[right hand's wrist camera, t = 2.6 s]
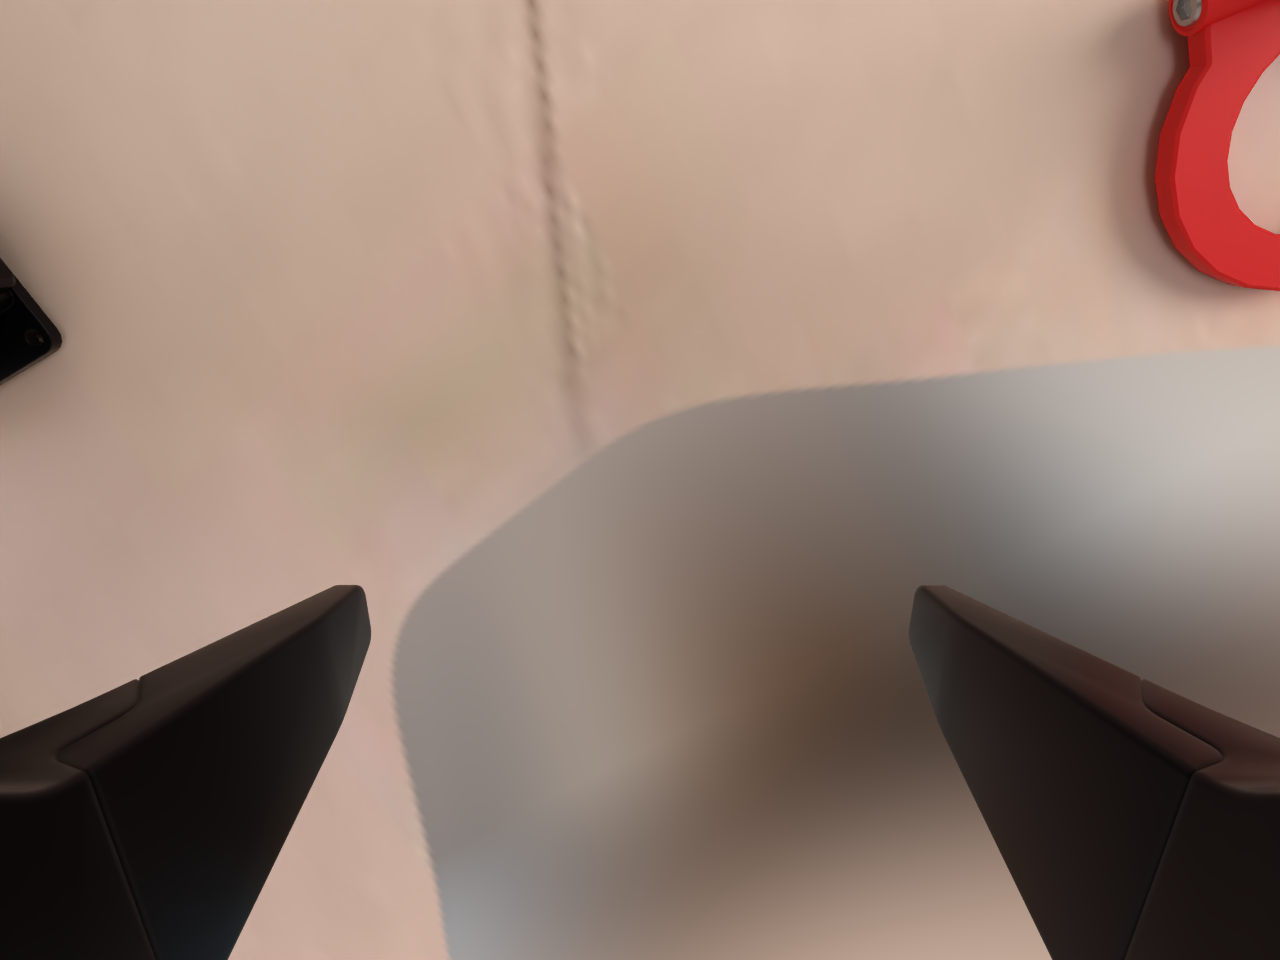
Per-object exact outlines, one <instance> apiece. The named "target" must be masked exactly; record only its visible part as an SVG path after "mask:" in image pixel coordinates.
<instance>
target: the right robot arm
mask: <svg viewBox="0 0 1280 960" xmlns="http://www.w3.org/2000/svg"><path fill="white" fill-rule="evenodd" d="M36 332H38V333H40V334H41V336H42V338H43V343H41V342H40V341H39V340H38V338H37V336H36ZM61 343H62V339H61V334H60V333H59V331H58V329H57V328H56V327H55V325H54V324H53V323H52V322H51V320H50V319H49V318H48V317H47V315H46V314H45V313H44V312H43V310H42V309H41V308H40V307H39V305H38V304H37V303H36V302H35V301H34V299H33V298H32V297H31V296H30V294H29V293H28V292H27V291H26V289H25V288H24V287H23V286H22V284H21V283H20V282H19V281H18V279H17V278H16V277H15V276H14V274H13V273H12V272H11V271H10V269H9V268H8V267H7V266H6V264H5V263H4V262H3V261H2V260H1V258H0V385H1V384H3V383H4V382H6V381H8V380H9V379H11V378H13V377H14V376H16V375H18V374H19V373H21V372H23V371H24V370H26V369H28V368H29V367H31V366H32V365H34V364H36V363H37V362H39V361H41V360H42V359H44V358H46V357H47V356H49V355H51V354H52V353H54V352H56V351H57V350H58V349H59V348H60V347H61ZM370 640H371V626H370V620H369V614H368V608H367V602H366V596H365V592H364V590H363V588H362V587H361V586H358V585H336V586H333V587H331V588H329V589H327V590H325V591H322V592H320V593H318V594H316V595H314V596H312V597H310V598H308V599H305V600H303V601H301V602H299V603H297V604H295V605H293V606H290V607H288V608H286V609H284V610H282V611H280V612H278V613H276V614H273V615H271V616H269V617H267V618H265V619H263V620H261V621H258V622H256V623H254V624H252V625H250V626H248V627H246V628H244V629H241V630H239V631H237V632H235V633H233V634H231V635H229V636H226V637H224V638H222V639H220V640H218V641H216V642H214V643H212V644H209V645H207V646H205V647H203V648H201V649H199V650H197V651H194V652H192V653H190V654H188V655H186V656H184V657H182V658H180V659H177V660H175V661H173V662H171V663H169V664H167V665H165V666H162V667H160V668H158V669H156V670H154V671H152V672H150V673H148V674H145V675H143V676H141V677H140V679H139V681H138V680H136V679H135V680H132V681H130V682H128V683H126V684H124V685H122V686H120V687H117V688H115V689H113V690H111V691H109V692H107V693H104V694H102V695H100V696H98V697H96V698H93V699H91V700H89V701H87V702H84V703H82V704H80V705H78V706H76V707H73V708H71V709H69V710H66V711H64V712H62V713H59V714H57V715H55V716H52V717H50V718H48V719H45V720H43V721H41V722H38V723H36V724H34V725H31V726H29V727H26V728H24V729H22V730H19V731H17V732H14V733H12V734H9V735H7V736H5V737H2V738H0V960H228V958H229V956H230V954H231V952H232V950H233V948H234V945H235V943H236V941H237V939H238V937H239V935H240V933H241V931H242V929H243V927H244V925H245V923H246V921H247V919H248V917H249V914H250V912H251V910H252V908H253V906H254V904H255V902H256V900H257V898H258V896H259V894H260V892H261V890H262V888H263V886H264V884H265V881H266V879H267V877H268V875H269V873H270V871H271V869H272V867H273V865H274V863H275V861H276V859H277V857H278V855H279V853H280V851H281V848H282V846H283V844H284V842H285V840H286V838H287V836H288V834H289V832H290V830H291V828H292V826H293V824H294V822H295V820H296V818H297V815H298V813H299V811H300V809H301V807H302V805H303V803H304V801H305V799H306V797H307V795H308V793H309V791H310V789H311V787H312V785H313V782H314V780H315V778H316V776H317V774H318V772H319V770H320V768H321V766H322V764H323V762H324V760H325V758H326V756H327V754H328V751H329V749H330V747H331V745H332V743H333V741H334V739H335V737H336V735H337V733H338V731H339V728H340V726H341V724H342V722H343V719H344V716H345V714H346V711H347V708H348V705H349V703H350V700H351V697H352V694H353V691H354V688H355V685H356V682H357V679H358V676H359V674H360V671H361V668H362V665H363V662H364V659H365V656H366V653H367V650H368V647H369V644H370ZM909 640H910V644H911V647H912V650H913V653H914V656H915V659H916V662H917V665H918V668H919V671H920V674H921V676H922V679H923V682H924V685H925V688H926V691H927V694H928V697H929V700H930V703H931V705H932V708H933V711H934V714H935V716H936V719H937V722H938V724H939V726H940V728H941V730H942V733H943V735H944V737H945V739H946V741H947V743H948V745H949V747H950V749H951V751H952V754H953V756H954V758H955V760H956V762H957V764H958V766H959V768H960V770H961V772H962V774H963V776H964V778H965V780H966V782H967V784H968V787H969V789H970V791H971V793H972V795H973V797H974V799H975V801H976V803H977V805H978V807H979V809H980V811H981V813H982V815H983V818H984V820H985V822H986V824H987V826H988V828H989V830H990V832H991V834H992V836H993V838H994V840H995V842H996V844H997V846H998V848H999V850H1000V853H1001V855H1002V857H1003V859H1004V861H1005V863H1006V865H1007V867H1008V869H1009V871H1010V873H1011V875H1012V877H1013V879H1014V881H1015V884H1016V886H1017V888H1018V890H1019V892H1020V894H1021V896H1022V898H1023V900H1024V902H1025V904H1026V906H1027V908H1028V910H1029V912H1030V914H1031V917H1032V919H1033V921H1034V923H1035V925H1036V927H1037V929H1038V931H1039V933H1040V935H1041V937H1042V939H1043V941H1044V943H1045V945H1046V947H1047V950H1048V952H1049V954H1050V956H1051V958H1052V960H1280V738H1278V737H1275V736H1273V735H1271V734H1268V733H1266V732H1263V731H1261V730H1258V729H1256V728H1254V727H1251V726H1249V725H1246V724H1244V723H1242V722H1239V721H1237V720H1235V719H1232V718H1230V717H1228V716H1225V715H1223V714H1221V713H1218V712H1216V711H1214V710H1211V709H1209V708H1206V707H1204V706H1202V705H1200V704H1198V703H1196V702H1193V701H1191V700H1189V699H1187V698H1184V697H1182V696H1180V695H1178V694H1176V693H1173V692H1171V691H1169V690H1167V689H1165V688H1163V687H1160V686H1158V685H1156V684H1154V683H1152V682H1150V681H1148V680H1145V679H1144V680H1142V681H1141V679H1140V677H1139V676H1137V675H1135V674H1132V673H1130V672H1128V671H1126V670H1124V669H1122V668H1120V667H1118V666H1115V665H1113V664H1111V663H1109V662H1107V661H1105V660H1103V659H1100V658H1098V657H1096V656H1094V655H1092V654H1090V653H1088V652H1086V651H1083V650H1081V649H1079V648H1077V647H1075V646H1073V645H1071V644H1068V643H1066V642H1064V641H1062V640H1060V639H1058V638H1056V637H1054V636H1051V635H1049V634H1047V633H1045V632H1043V631H1041V630H1039V629H1036V628H1034V627H1032V626H1030V625H1028V624H1026V623H1024V622H1021V621H1019V620H1017V619H1015V618H1013V617H1011V616H1009V615H1007V614H1004V613H1002V612H1000V611H998V610H996V609H994V608H992V607H990V606H987V605H985V604H983V603H981V602H979V601H977V600H975V599H972V598H970V597H968V596H966V595H964V594H962V593H960V592H958V591H955V590H953V589H951V588H949V587H947V586H944V585H922V586H919V587H918V588H917V590H916V592H915V596H914V602H913V608H912V614H911V620H910V626H909Z"/></svg>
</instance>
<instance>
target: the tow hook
mask: <svg viewBox="0 0 1280 960" xmlns="http://www.w3.org/2000/svg"><path fill="white" fill-rule="evenodd" d="M1169 16H1170V21H1171V23H1172V26H1173V27H1174V29H1175V31H1177V32H1178V33H1179V34H1180V35H1183V36H1188V48H1189V63H1190V67H1189V69H1188V71H1187V72H1186V74H1185V76H1184V77H1183V79H1182V81H1181V82H1180V84H1179V86H1178V87H1177V89H1176V92H1175V94H1174V97H1173V100H1172V103H1171V106H1170V108H1169V111H1168V114H1167V117H1166V120H1165V122H1164V125H1163V128H1162V131H1161V134H1160V139H1159V147H1158V155H1157V163H1156V171H1155V184H1156V191H1157V199H1158V206H1159V213H1160V218H1161V220H1162V222H1163V224H1164V226H1165V228H1166V230H1167V232H1168V234H1169V236H1170V238H1171V240H1172V242H1173V245H1174V247H1175V248H1176V249H1177V250H1178V251H1179V252H1180V253H1181V254H1182V255H1183V256H1184V257H1185V258H1186V259H1187V260H1188V261H1189V262H1190V263H1191V264H1192V265H1193V266H1194V267H1195V268H1196V269H1197V270H1198V271H1201V272H1203V273H1205V274H1207V275H1209V276H1212V277H1214V278H1216V279H1218V280H1221V281H1223V282H1225V283H1227V284H1231V285H1236V286H1241V287H1246V288H1256V289H1265V290H1275V291H1280V235H1277V234H1273V233H1271V232H1269V231H1267V230H1265V229H1263V228H1260V227H1258V226H1256V225H1254V224H1253V223H1252V222H1251V220H1250V219H1249V218H1248V217H1247V216H1246V215H1245V214H1244V213H1243V212H1242V211H1241V210H1240V209H1239V207H1238V205H1237V203H1236V200H1235V198H1234V196H1233V193H1232V191H1231V189H1230V184H1229V174H1228V164H1227V160H1228V153H1229V147H1230V141H1231V135H1232V131H1233V128H1234V126H1235V123H1236V120H1237V118H1238V115H1239V113H1240V110H1241V108H1242V105H1243V103H1244V101H1245V99H1246V98H1247V96H1248V95H1249V93H1250V91H1251V90H1252V88H1253V87H1254V85H1255V84H1256V82H1257V80H1258V79H1259V77H1260V76H1261V74H1262V73H1263V72H1264V70H1265V69H1266V68H1267V67H1268V66H1269V65H1270V64H1271V63H1272V62H1273V61H1274V60H1275V59H1276V58H1277V57H1278V55H1279V54H1280V0H1169Z"/></svg>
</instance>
